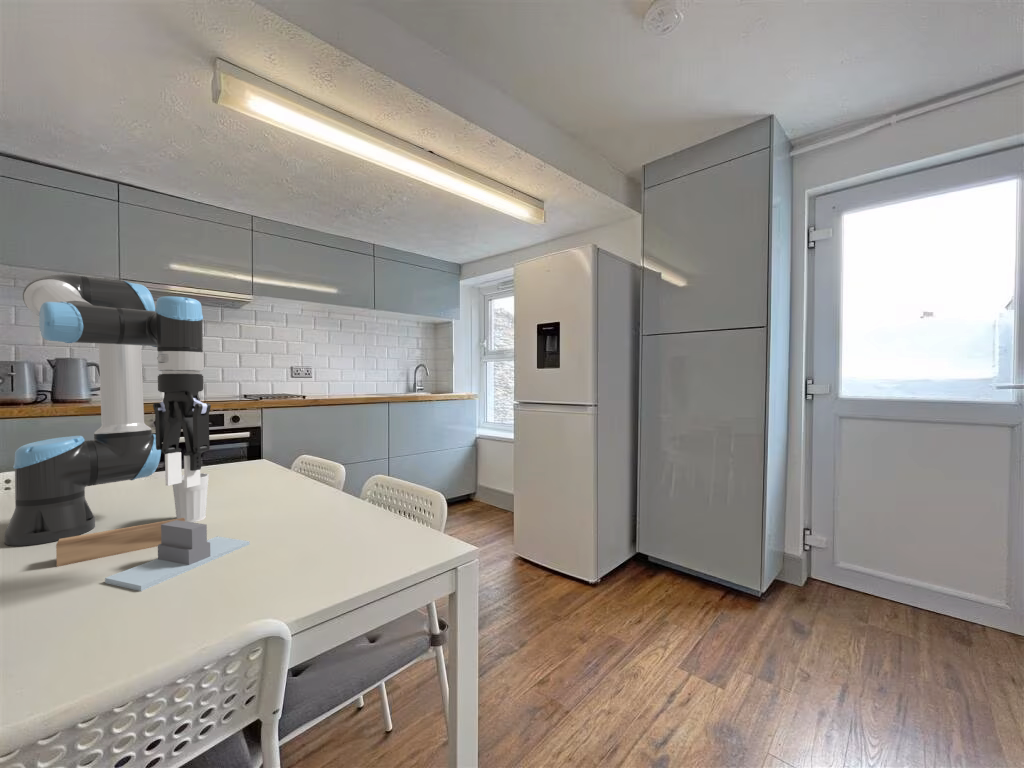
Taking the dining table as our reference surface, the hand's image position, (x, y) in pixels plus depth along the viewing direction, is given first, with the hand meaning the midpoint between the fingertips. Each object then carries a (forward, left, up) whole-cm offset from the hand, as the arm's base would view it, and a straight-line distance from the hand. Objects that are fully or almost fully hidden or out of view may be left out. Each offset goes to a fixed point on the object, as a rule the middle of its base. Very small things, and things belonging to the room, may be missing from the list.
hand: (183, 484), depth 90 cm
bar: (-19, 0, -17) cm, 25 cm away
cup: (-25, +19, -17) cm, 36 cm away
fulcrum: (0, 0, -16) cm, 16 cm away
